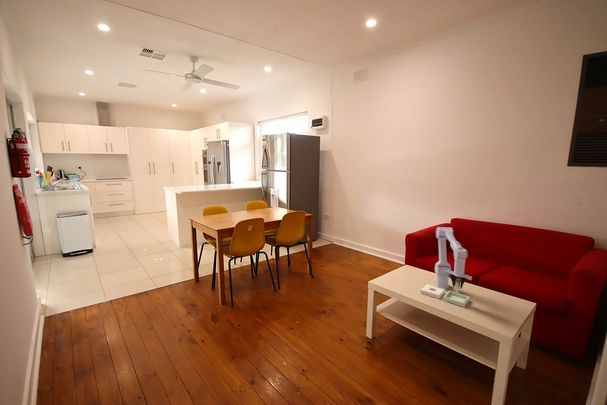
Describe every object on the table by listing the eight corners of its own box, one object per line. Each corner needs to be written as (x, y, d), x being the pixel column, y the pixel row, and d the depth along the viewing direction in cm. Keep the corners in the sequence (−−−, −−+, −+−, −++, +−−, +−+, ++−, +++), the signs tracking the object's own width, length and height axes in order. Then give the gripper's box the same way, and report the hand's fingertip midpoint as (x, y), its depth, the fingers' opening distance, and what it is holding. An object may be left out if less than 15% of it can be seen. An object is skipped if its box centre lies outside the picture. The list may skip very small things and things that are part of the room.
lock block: (426, 287, 200) (427, 284, 199) (444, 292, 191) (444, 289, 191) (420, 292, 191) (420, 289, 191) (438, 298, 183) (438, 295, 182)
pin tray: (448, 294, 190) (449, 290, 189) (469, 300, 181) (469, 296, 181) (442, 300, 181) (443, 296, 180) (464, 307, 172) (464, 303, 172)
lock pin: (453, 289, 183) (455, 277, 182) (460, 292, 181) (462, 280, 179) (451, 291, 180) (453, 279, 179) (458, 294, 178) (460, 282, 176)
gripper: (445, 265, 180) (443, 285, 182) (470, 272, 170) (468, 292, 172) (448, 263, 185) (446, 282, 187) (473, 269, 175) (471, 289, 177)
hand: (457, 287), depth 180 cm, fingers closed on lock pin, 4 cm apart
